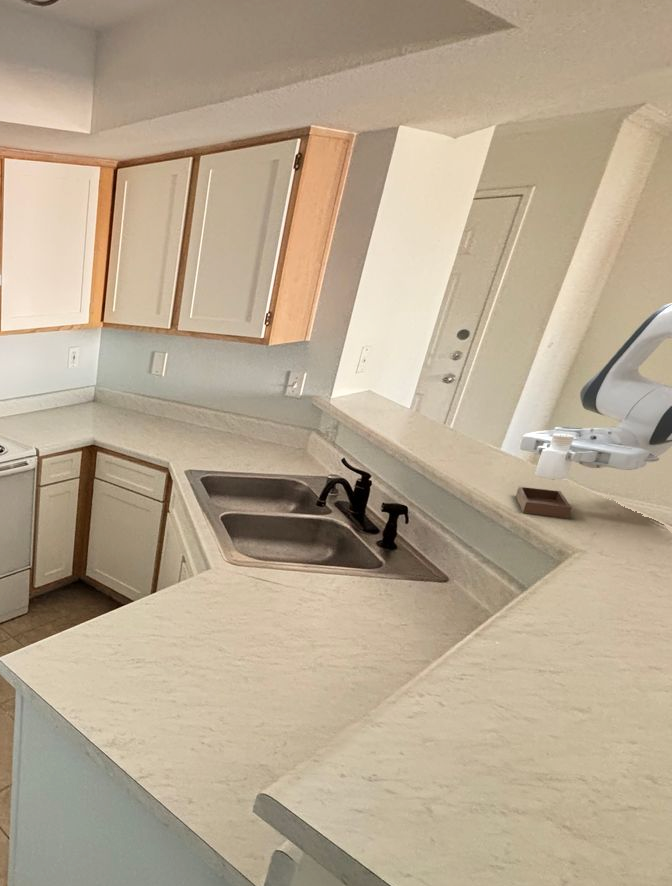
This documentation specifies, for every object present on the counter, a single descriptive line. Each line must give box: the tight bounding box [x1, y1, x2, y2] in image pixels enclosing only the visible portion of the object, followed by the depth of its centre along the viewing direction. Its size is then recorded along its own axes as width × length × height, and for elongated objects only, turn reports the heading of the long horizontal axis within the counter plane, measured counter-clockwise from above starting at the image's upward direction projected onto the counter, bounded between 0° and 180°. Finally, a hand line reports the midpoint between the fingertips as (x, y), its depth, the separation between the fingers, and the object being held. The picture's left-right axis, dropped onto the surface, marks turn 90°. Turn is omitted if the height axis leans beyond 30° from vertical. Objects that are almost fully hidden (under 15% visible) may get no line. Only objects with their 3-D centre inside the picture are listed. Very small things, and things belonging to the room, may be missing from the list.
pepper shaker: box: [534, 434, 574, 481], centre depth 126 cm, size 4×4×10 cm
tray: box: [515, 486, 572, 519], centre depth 130 cm, size 13×7×2 cm, turn 143°
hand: (554, 453), depth 126 cm, fingers closed on pepper shaker, 4 cm apart
